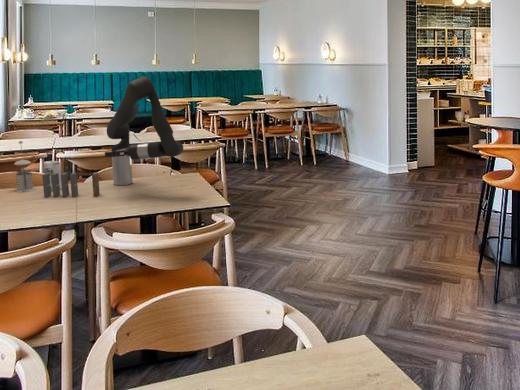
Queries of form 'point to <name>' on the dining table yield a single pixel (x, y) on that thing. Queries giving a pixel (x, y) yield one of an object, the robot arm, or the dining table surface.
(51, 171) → the syrup box
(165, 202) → the dining table surface
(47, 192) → the charcoal tile
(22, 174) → the french press
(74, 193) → the charcoal tile
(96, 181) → the walnut tile
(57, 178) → the charcoal tile
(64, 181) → the charcoal tile
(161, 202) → the dining table surface
